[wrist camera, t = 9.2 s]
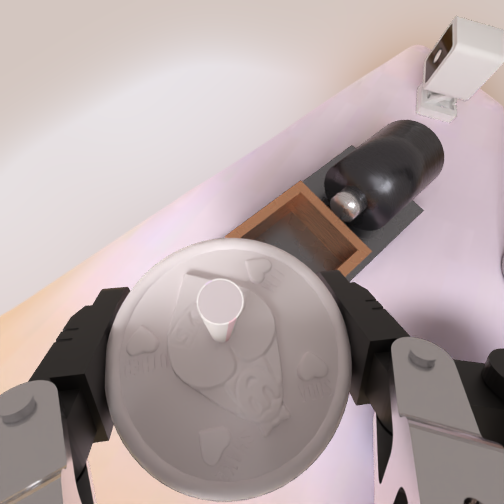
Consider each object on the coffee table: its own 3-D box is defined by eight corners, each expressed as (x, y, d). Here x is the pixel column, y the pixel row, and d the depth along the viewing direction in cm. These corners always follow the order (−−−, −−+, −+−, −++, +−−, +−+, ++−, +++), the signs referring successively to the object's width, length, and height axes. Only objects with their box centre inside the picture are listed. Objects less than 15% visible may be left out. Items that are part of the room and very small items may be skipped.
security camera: (407, 83, 46) (456, 12, 36) (450, 95, 46) (509, 28, 36) (405, 112, 43) (457, 45, 34) (450, 125, 43) (513, 61, 34)
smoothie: (243, 278, 18) (298, 66, 5) (305, 370, 16) (626, 422, 3) (148, 338, 16) (-157, 258, 3) (207, 447, 15) (93, 1143, 2)
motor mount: (345, 155, 39) (385, 91, 30) (413, 218, 37) (479, 170, 28) (204, 261, 32) (198, 221, 23) (277, 348, 30) (304, 342, 20)
